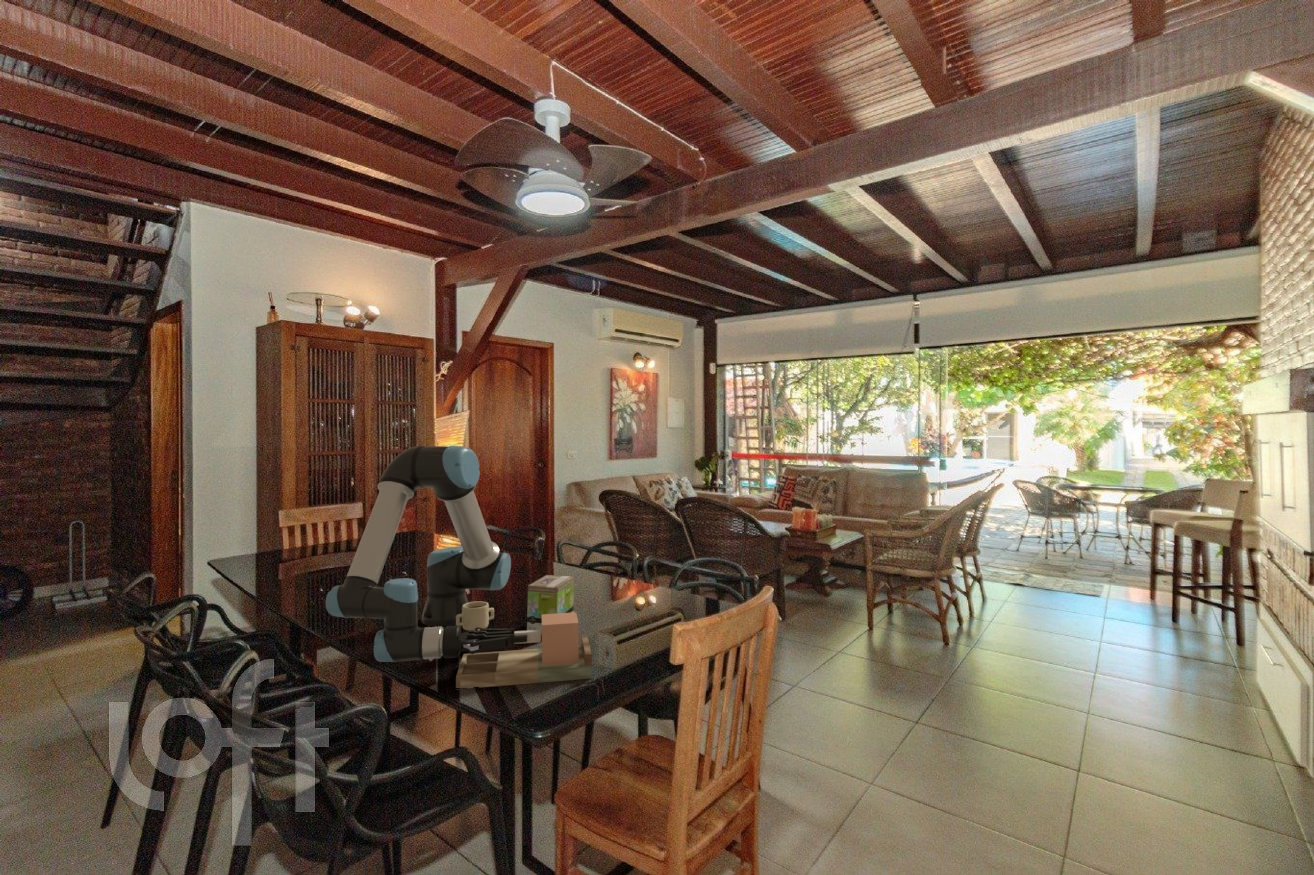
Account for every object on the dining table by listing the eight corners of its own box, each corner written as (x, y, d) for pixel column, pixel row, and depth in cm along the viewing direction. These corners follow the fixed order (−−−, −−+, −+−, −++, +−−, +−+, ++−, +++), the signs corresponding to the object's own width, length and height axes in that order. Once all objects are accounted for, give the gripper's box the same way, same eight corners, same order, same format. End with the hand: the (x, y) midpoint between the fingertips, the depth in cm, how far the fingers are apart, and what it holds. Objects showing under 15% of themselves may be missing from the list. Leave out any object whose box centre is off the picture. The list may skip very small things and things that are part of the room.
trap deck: (463, 665, 158) (463, 642, 158) (587, 656, 164) (586, 634, 164) (456, 689, 143) (455, 663, 143) (591, 678, 149) (591, 654, 149)
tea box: (557, 636, 180) (557, 586, 180) (526, 634, 182) (525, 585, 182) (574, 621, 195) (574, 575, 195) (545, 619, 197) (545, 573, 197)
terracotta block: (541, 652, 159) (541, 614, 159) (576, 649, 160) (576, 612, 160) (542, 665, 150) (541, 625, 150) (578, 662, 152) (578, 622, 151)
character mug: (489, 643, 174) (488, 598, 174) (499, 650, 169) (499, 603, 168) (451, 652, 167) (451, 605, 167) (461, 659, 162) (460, 611, 162)
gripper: (447, 648, 156) (540, 641, 160) (439, 667, 143) (540, 660, 147) (447, 619, 156) (540, 613, 160) (438, 635, 143) (540, 629, 147)
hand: (540, 635), depth 154 cm, fingers closed
